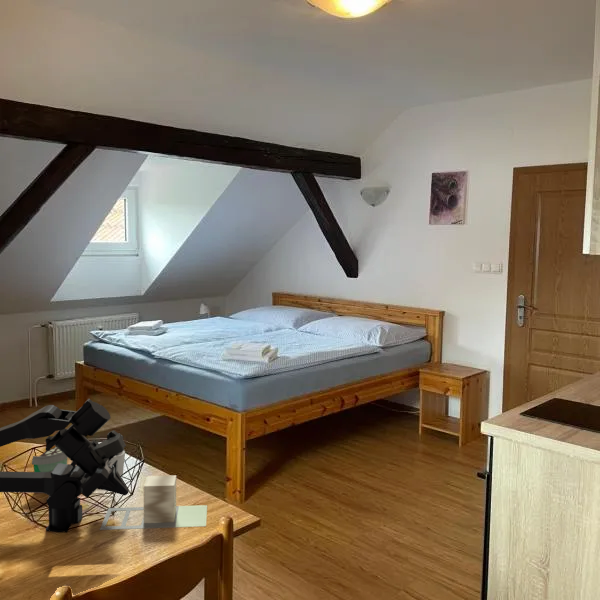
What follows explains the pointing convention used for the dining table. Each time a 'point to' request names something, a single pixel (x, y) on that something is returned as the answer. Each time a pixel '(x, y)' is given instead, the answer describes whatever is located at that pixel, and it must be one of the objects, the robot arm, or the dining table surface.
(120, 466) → the cup
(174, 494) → the block
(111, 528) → the plate
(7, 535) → the dining table surface
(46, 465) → the food container
